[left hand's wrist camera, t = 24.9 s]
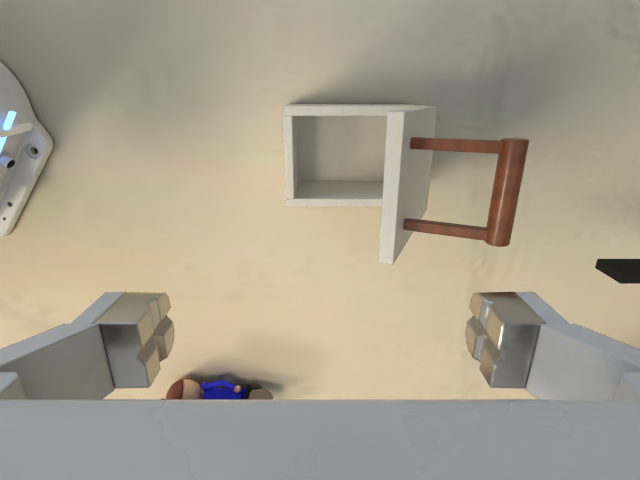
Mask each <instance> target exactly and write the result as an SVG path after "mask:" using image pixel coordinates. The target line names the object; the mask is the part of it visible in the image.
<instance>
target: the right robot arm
mask: <svg viewBox="0 0 640 480" xmlns="http://www.w3.org/2000/svg"><path fill="white" fill-rule="evenodd" d="M595 268H596V269H598V270H600V271H601V272H603V273H605V274H606V275H608V276H609V277H611V278H613V279H614V280H616V281H617V282H619V283H640V259H598V260H597V263H596V267H595Z"/></svg>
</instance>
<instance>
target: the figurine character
mask: <svg viewBox="0 0 640 480" xmlns="http://www.w3.org/2000/svg"><path fill="white" fill-rule="evenodd" d="M220 385H222V386H225V387H227V388H218V387H217V386H220ZM201 388H202V390H203V391H204V393H203V394H202V390H201ZM241 389H242V392H241ZM251 389H256V390H252V391H251ZM161 400H273V396H272V394H271V393H270V392H268V391H266V390H263V389H261V387H260V386H253V385H242V386H239V385H234V384H231V383H229V382H226V381H224V380H219V381H216V382H212V383H206V382H203V383H202V384H201V387H200V386H199V384H198V383H197V382H196V381H194V380H192V379H181V380H179V381H177V382H175V383H174V384H173V385H172V386H171V387H170V389H169V390H168V393H167V396H166V399H161Z"/></svg>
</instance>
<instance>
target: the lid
mask: <svg viewBox="0 0 640 480" xmlns="http://www.w3.org/2000/svg"><path fill="white" fill-rule="evenodd" d="M437 108H438V107H437V106H426V107H418V108H411V109H404V110H396V111H389V112H388V117H387V134H386V150H385V166H384V182H383V199H382V215H381V231H380V247H379V263H385V264H391V265H393V264H394V262H395V261H396V259H397V257H398V256H399V254H400V252H401V251H402V249H403V247H404V246H405V244H406V242H407V241H408V239H409V238H410V236H411V234H412V233H413V231H417V232H424V233H432V234H440V235H447V236H455V237H462V238H470V239H478V240H485V242H486V243H487V244H490V245H493V246H500V247H503V246H508V245H509V244H510V238H511V233H512V228H513V223H514V217H515V212H516V207H517V202H518V197H519V191H520V186H521V181H522V176H523V171H524V165H525V160H526V155H527V150H528V144H529V140H528V139H523V138H503V139H501V141H499V140H475V139H450V138H434V137H435V127H436V118H437ZM433 150H438V151H457V152H476V153H495V154H499V155H498V161H497V167H496V173H495V179H494V185H493V191H492V197H491V203H490V209H489V215H488V221H487V228H486V227H477V226H469V225H461V224H452V223H444V222H436V221H427V220H421V218H422V216H423V215H424V213H425V211H426V210H427V203H428V194H429V184H430V175H431V165H432V156H433Z"/></svg>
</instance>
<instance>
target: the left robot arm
mask: <svg viewBox="0 0 640 480" xmlns="http://www.w3.org/2000/svg"><path fill="white" fill-rule="evenodd" d="M35 148H36V149H37V150H38V153H36V152H35ZM52 149H53V141H52V138H51V136H50V135H49V133H48V132H47V131H46V130H45V128H44V127H43V126H42V125H41V123H40V122H39V121H38V120H37V118H36V116H35V114H34V112H33V110H32V107H31V105H30V102H29V99H28V97H27V95H26V93H25V91H24V89H23V88H22V86H21V84H20V83H19V81H18V80H17V79H16V77H15V76H14V75H13V74H12V72H11V71H10V70H9V69H8V68H7V67H6V66H5V65H4V64H3V63H2V62H1V61H0V237H2V236H6V235H9V234H10V233H11V231H12V230H13V228H14V226H15V224H16V222H17V220H18V218H19V216H20V214H21V212H22V210H23V208H24V206H25V204H26V202H27V200H28V198H29V196H30V193H31V191H32V189H33V187H34V185H35V183H36V181H37V179H38V177H39V175H40V173H41V171H42V169H43V167H44V165H45V163H46V161H47V159H48V157H49V155H50V153H51V151H52ZM170 308H171V307H170V302H169V297H168V296H167V294H166V293H155V292H105V293H104V294H103V295H102V296H101V297H100V298H99V299H98V300H96V301H95V302H94V303H93V304H92V305H91V306H90V307H89V308H88V309H86V310H85V311H84V312H83V313H82V314H81V315H80V316H79V317H78V318H76V319H75V320H74V321H73V322H72V323H71V324H63V325H60V326H58V327H55V328H53V329H50V330H47V331H45V332H42V333H40V334H37V335H35V336H32V337H30V338H27V339H25V340H22V341H20V342H17V343H15V344H12V345H10V346H7V347H5V348H2V349H0V480H640V349H638V348H635V347H633V346H630V345H628V344H625V343H623V342H620V341H618V340H615V339H613V338H610V337H608V336H605V335H603V334H600V333H597V332H595V331H592V330H590V329H587V328H585V327H582V326H580V325H577V324H569V323H568V322H567V321H566V320H565V319H564V318H563V317H561V316H560V315H559V314H558V313H557V312H556V311H555V310H554V309H553V308H551V307H550V306H549V305H548V304H547V303H546V302H545V301H544V300H543V299H541V298H540V297H539V296H538V295H537V294H536V293H534V292H488V293H474V294H473V295H472V298H471V301H470V307H469V308H470V310H471V311H472V313H473V314H474V315H473V316H472V317H471V319H470V320H469V321H468V322H467V326H466V343H467V346H468V350H469V352H470V354H471V355H472V357H473V358H474V359H476V360H478V361H479V362H480V368H479V369H480V371H481V373H482V374H483V376H484V378H485V379H486V381H487V383H488V384H489V386H490V388H526V391H528V392H529V393H530V394H532V395H533V396H534V397H536V398H537V399H534V400H102V399H103V398H104V397H106V396H107V395H109V394H110V393H111V392H113V391H114V388H150V386H151V384H152V383H153V381H154V379H155V378H156V376H157V374H158V373H159V371H160V369H161V368H160V362H161V361H162V360H164V359H166V358H167V357H168V355H169V354H170V352H171V350H172V346H173V342H174V325H173V322H172V321H171V320H170V319H169V318H168V316H167V315H166V314H167V313H168V311H169V310H170Z"/></svg>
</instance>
